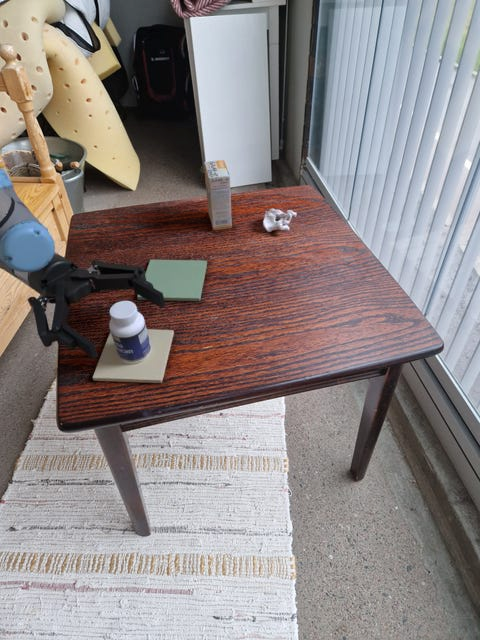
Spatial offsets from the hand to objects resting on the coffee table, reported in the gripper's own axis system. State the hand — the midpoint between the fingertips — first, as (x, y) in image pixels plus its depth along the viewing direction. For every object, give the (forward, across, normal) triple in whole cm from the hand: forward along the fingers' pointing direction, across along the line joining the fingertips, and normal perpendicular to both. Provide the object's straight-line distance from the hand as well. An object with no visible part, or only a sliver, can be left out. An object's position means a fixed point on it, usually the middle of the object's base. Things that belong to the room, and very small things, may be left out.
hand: (130, 324), depth 64 cm
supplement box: (-18, -41, -8) cm, 46 cm away
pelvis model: (-5, -48, -8) cm, 49 cm away
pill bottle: (-1, 0, -8) cm, 8 cm away
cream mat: (-1, 0, -8) cm, 8 cm away
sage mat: (-10, -18, -8) cm, 23 cm away
